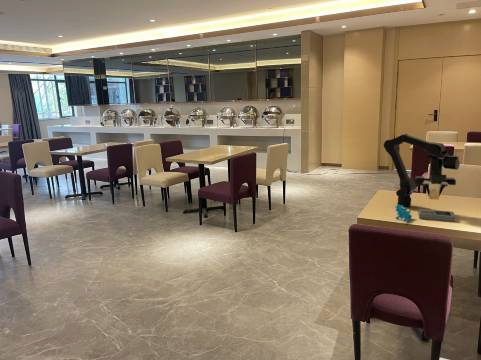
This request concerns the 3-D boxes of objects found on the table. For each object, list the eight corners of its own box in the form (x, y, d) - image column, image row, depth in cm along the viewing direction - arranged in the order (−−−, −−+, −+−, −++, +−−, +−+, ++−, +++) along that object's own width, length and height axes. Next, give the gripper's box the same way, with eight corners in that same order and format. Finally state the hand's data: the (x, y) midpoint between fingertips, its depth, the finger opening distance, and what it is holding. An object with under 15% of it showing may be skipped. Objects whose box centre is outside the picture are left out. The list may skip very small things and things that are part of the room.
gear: (404, 221, 180) (393, 204, 185) (395, 227, 184) (385, 210, 189) (417, 219, 186) (406, 203, 191) (408, 225, 190) (398, 209, 195)
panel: (419, 218, 188) (419, 213, 188) (418, 213, 196) (418, 208, 196) (455, 221, 182) (455, 216, 182) (452, 216, 190) (453, 211, 190)
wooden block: (429, 198, 197) (429, 190, 196) (428, 196, 201) (429, 188, 200) (438, 199, 195) (439, 191, 194) (437, 197, 199) (438, 189, 198)
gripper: (417, 169, 191) (415, 198, 194) (458, 171, 183) (455, 201, 187) (416, 165, 201) (414, 193, 204) (455, 167, 194) (452, 195, 197)
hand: (433, 196), depth 198 cm, fingers closed on wooden block, 4 cm apart
